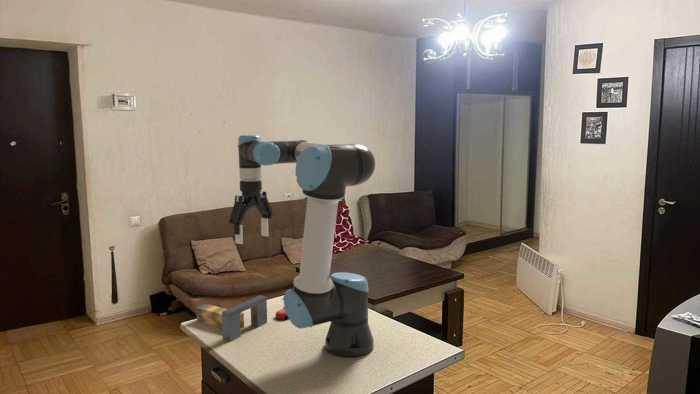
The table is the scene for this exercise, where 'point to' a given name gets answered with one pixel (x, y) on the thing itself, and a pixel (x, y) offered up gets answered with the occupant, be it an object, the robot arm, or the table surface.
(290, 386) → the table surface
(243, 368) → the table surface
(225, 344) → the table surface
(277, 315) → the race car
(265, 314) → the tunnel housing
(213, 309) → the tan long block
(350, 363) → the table surface
